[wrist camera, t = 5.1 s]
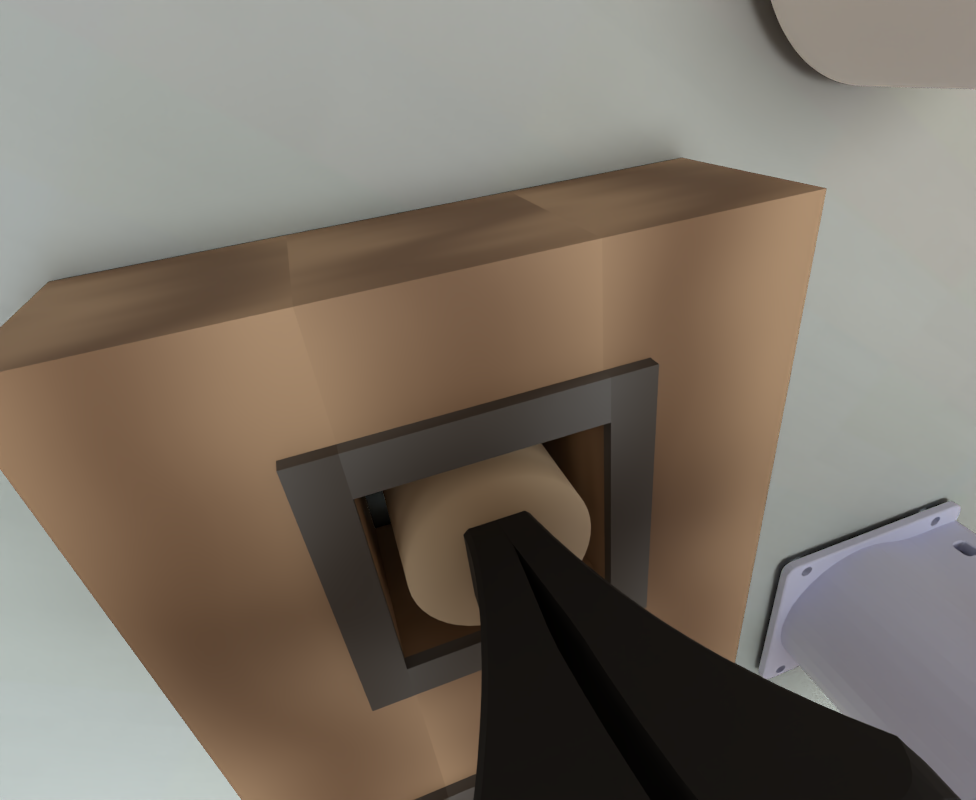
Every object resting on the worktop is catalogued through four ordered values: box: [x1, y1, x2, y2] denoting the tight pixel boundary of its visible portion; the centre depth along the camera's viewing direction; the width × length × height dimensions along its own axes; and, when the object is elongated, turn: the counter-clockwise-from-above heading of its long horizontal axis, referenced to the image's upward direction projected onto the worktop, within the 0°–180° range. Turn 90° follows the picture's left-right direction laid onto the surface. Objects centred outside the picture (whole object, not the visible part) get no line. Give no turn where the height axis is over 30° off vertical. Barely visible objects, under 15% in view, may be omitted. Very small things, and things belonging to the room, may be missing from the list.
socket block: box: [0, 158, 827, 800], centre depth 17 cm, size 14×24×5 cm, turn 6°
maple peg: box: [383, 444, 591, 626], centre depth 14 cm, size 4×4×4 cm
